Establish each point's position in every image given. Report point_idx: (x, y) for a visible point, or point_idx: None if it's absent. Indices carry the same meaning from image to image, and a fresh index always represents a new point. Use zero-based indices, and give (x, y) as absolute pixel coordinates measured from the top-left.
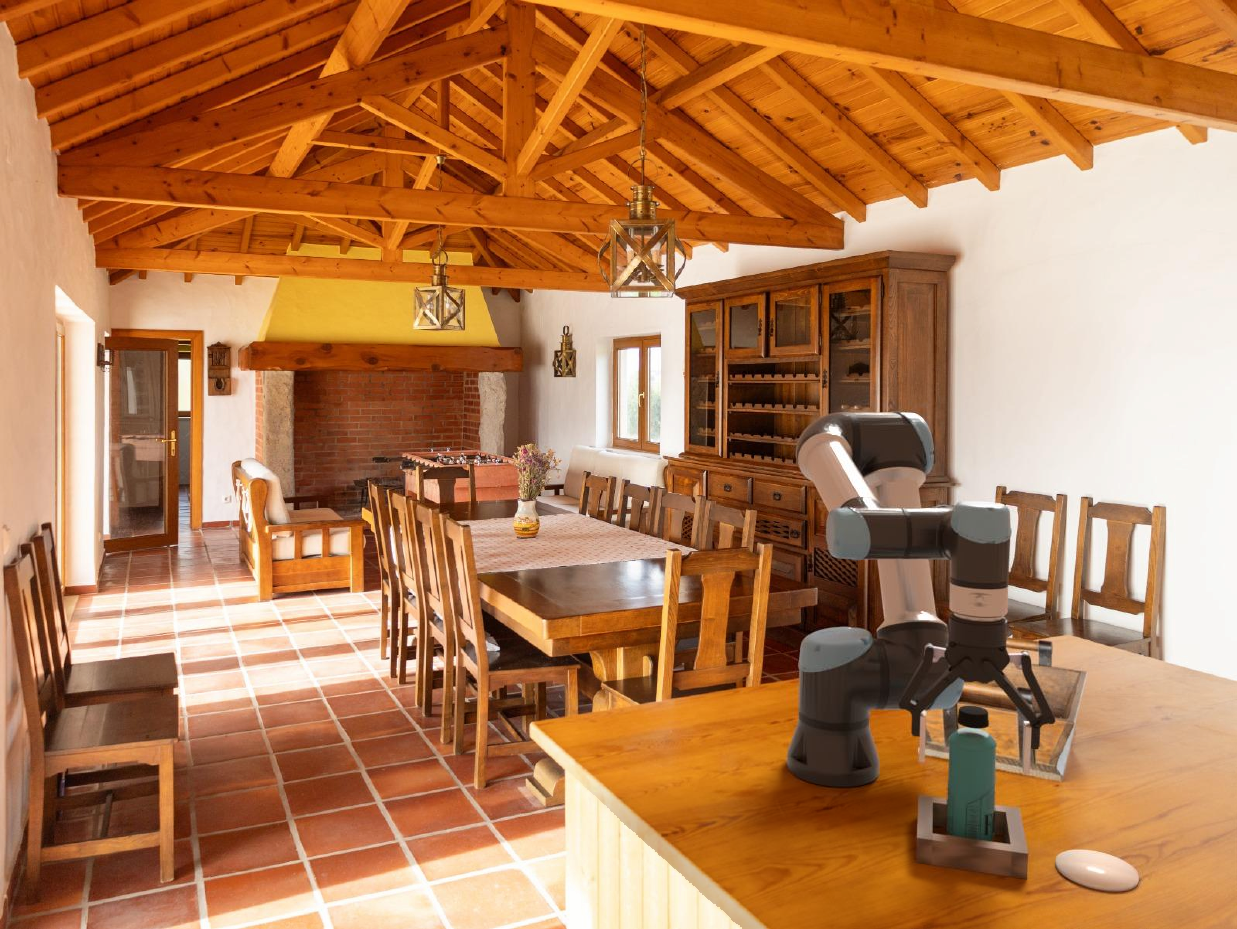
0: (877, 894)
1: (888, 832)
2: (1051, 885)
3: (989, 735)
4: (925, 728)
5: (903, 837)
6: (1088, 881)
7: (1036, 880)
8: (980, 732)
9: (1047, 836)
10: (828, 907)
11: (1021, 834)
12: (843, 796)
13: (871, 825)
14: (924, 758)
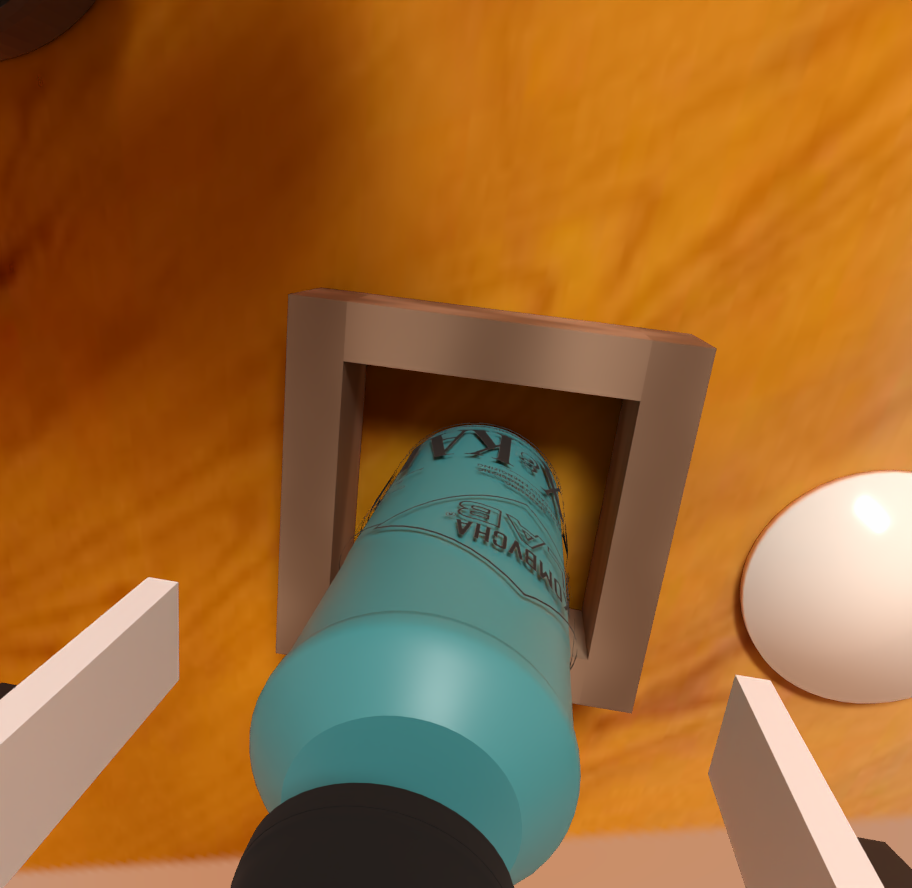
0: (208, 766)
1: (220, 429)
2: (684, 681)
3: (524, 843)
4: (35, 848)
5: (269, 456)
6: (807, 678)
7: (647, 660)
8: (460, 807)
9: (795, 358)
10: (106, 823)
11: (649, 585)
12: (37, 148)
13: (163, 387)
14: (166, 692)
